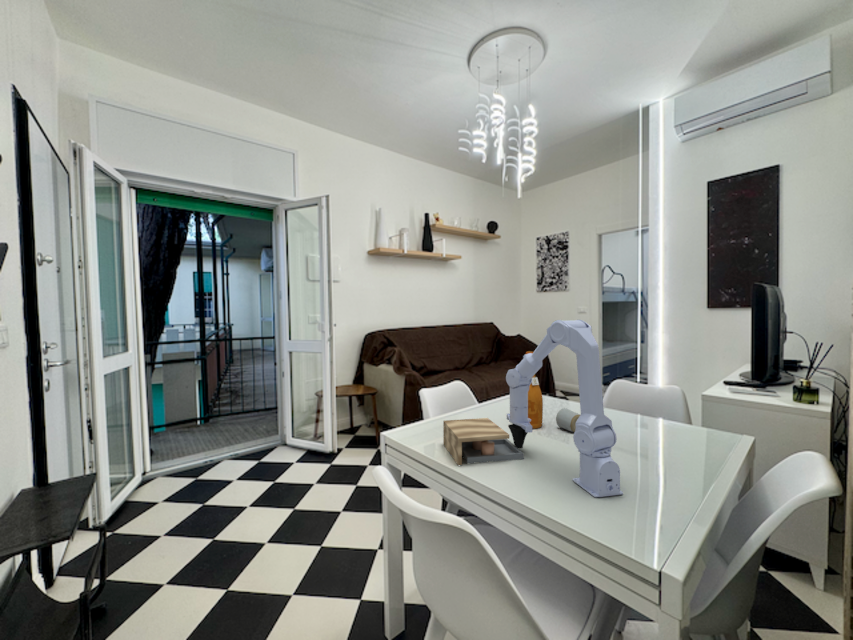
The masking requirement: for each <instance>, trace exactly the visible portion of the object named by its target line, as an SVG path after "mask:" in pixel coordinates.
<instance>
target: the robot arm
mask: <svg viewBox="0 0 853 640" xmlns="http://www.w3.org/2000/svg"><path fill="white" fill-rule="evenodd" d="M559 345H560V346H562V347H563V346H564V347H566V348H568V349H569V350H570V351H571V352H573V353H574V354H575V355H576V368H577V379H578V392H579V393H578V395H579V408H580V414H579V415H580V416H579V418H578V419H577V421H576V423H575V424H576V429H575V432H573V443H574V445H575V447H576V449H577V451H578V452H579V477H573V478H572V480H571V481H573V482H574V483H575V484H576V485H578V486H579V487H581V488H582V489H583V490H585V491H586V492H587V493H589V494H590V495H591V496H593V497H594V498H602V497H609V496H610V497H611V496H618V495H619V496H620V495H624V492H623V491H622V490H621V468H620V466H619V464H618V463H617V462H616V461H615V460H614V459H613V457H612V455H611V453H612V448H613V447H614V446H616V443H617V439H618V438H617V433H616V431H615V429H614V427H613V422H612V419H611V418H609V417H608V416H606V415H605V411H604V409H605V408H604V395H603V385H602V383H603V382H602V375H601V374H602V372H601V370H602V369H601V361H600V358H601V357H600V348H599V344H598V342H597V340H596V338H595V336H594V335H593V329H592V325H590V324H589V323H588V322H586V320H585V321H584V320H583V319H576V320H575V319H573V320H570V319H569V320H568V319H567V320H566V319H565V320H562V319H557V320H555V321H553V322H552V323H551V324H550V326H549V327H547V329H546V333H545V336H544V337H543V339H542V340H541V341H540V342H539V344H538V345H537V347H536V348H535V350H533V351H532V352H533V353H528V354H526V353H525V354H524V355H522V359H521V361H520V362H519V363H518V364H517V365H516V366H515V368H512V369H508V370H507V373H505V375H506V376H505V381H506V383H507V385H508V387H509V413H506V420H507V421H508V422H509V423H510V424H508V425H507V427H508V429H509V430H510V433H511V437H512V441H513V445H515V446H516V447H517V448H518V449H523V447H524V444H525V440H526V437H527V436H528V433H533V429H532V425H531V424H530V422H531V419H529V418H528V391H529V386H530V384H531V383H532V377H533V376H534V375H535V376H536V374H537V372H538V371H539V370H540V369H542V367H543V360H544V359H545V358H546V357H547V356H548V355H550V353H551V352H553V350H555V349H556V348H557V347H558V346H559Z"/></svg>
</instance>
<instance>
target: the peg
mask: <svg viewBox="0 0 853 640" xmlns="http://www.w3.org/2000/svg"><path fill="white" fill-rule="evenodd" d="M481 442H482V441H472V448H473V449H475V450H481Z"/></svg>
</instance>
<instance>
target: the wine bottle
mask: <svg viewBox="0 0 853 640" xmlns="http://www.w3.org/2000/svg"><path fill="white" fill-rule="evenodd" d="M533 352H534V351H532V350H528V351H526V352H525V354H528V353H533ZM543 403H544V401H543V394H542V390H541V387H540V383H539V379H538V377H537V376H536V374H535V375H534V376H533V377H532V383H531V384H530V386H529V391H528V418H529V419H531V422H530V424H531V425H532V430H533V429H535V430H536V429H539V428H541V427H543V419H544V418H543V416H544V415H543V414H544V413H543V410H544V404H543Z"/></svg>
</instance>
